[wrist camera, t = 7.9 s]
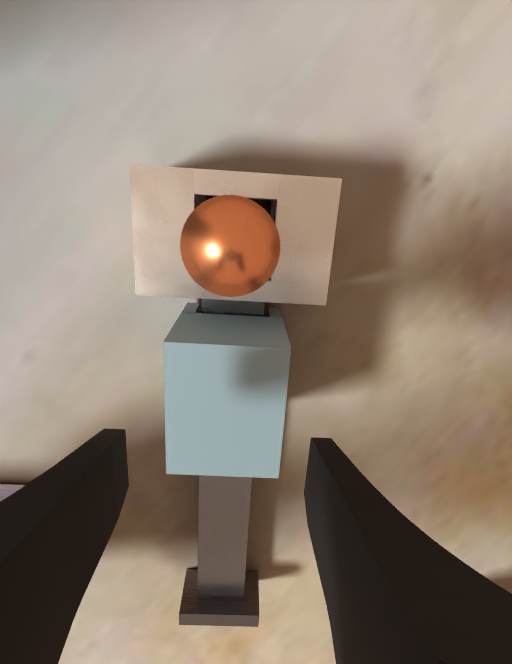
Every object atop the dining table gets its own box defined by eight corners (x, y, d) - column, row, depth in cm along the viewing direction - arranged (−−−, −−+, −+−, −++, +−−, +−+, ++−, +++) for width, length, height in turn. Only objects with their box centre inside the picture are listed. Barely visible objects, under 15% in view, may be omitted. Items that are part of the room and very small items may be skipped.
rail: (186, 579, 26) (179, 624, 23) (187, 268, 19) (176, 280, 16) (257, 581, 26) (258, 626, 24) (283, 274, 19) (289, 286, 16)
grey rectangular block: (158, 277, 19) (135, 294, 15) (155, 172, 18) (129, 163, 14) (311, 285, 20) (326, 305, 16) (322, 183, 18) (342, 178, 14)
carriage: (187, 404, 21) (166, 473, 16) (187, 302, 19) (163, 341, 14) (271, 408, 21) (278, 478, 16) (279, 307, 19) (291, 348, 14)
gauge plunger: (199, 268, 17) (180, 294, 12) (200, 195, 16) (179, 191, 11) (268, 272, 17) (276, 299, 12) (274, 199, 16) (284, 198, 11)
